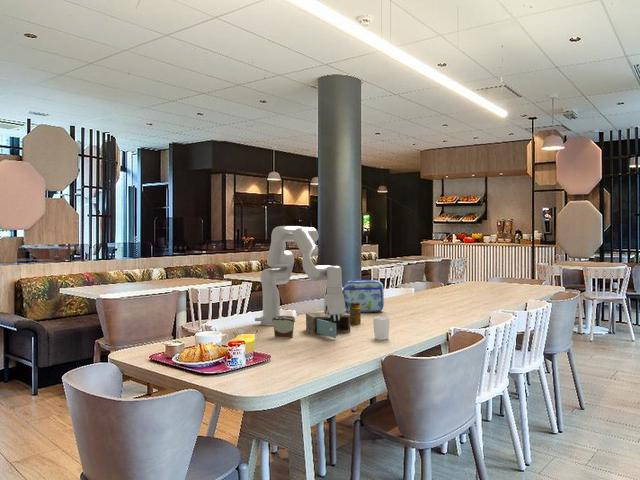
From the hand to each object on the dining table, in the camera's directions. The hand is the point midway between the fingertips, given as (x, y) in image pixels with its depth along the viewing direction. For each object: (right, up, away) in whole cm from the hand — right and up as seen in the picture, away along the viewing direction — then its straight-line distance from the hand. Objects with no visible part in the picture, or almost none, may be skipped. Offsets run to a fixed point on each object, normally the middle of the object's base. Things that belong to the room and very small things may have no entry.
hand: (335, 328), depth 256 cm
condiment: (+12, -4, +37) cm, 39 cm away
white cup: (+22, -5, -2) cm, 23 cm away
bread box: (-3, -4, +18) cm, 19 cm away
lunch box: (+20, -3, +81) cm, 83 cm away
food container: (-25, -5, +6) cm, 26 cm away
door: (-5, -4, +2) cm, 7 cm away
